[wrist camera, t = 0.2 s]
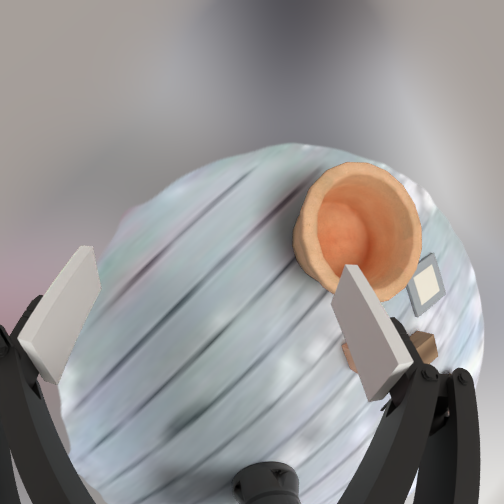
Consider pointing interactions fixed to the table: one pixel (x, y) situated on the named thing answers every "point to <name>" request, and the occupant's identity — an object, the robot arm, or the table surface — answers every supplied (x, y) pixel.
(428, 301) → the pad
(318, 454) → the table surface
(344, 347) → the terracotta cube
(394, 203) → the pottery
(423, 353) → the walnut cube
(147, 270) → the table surface
